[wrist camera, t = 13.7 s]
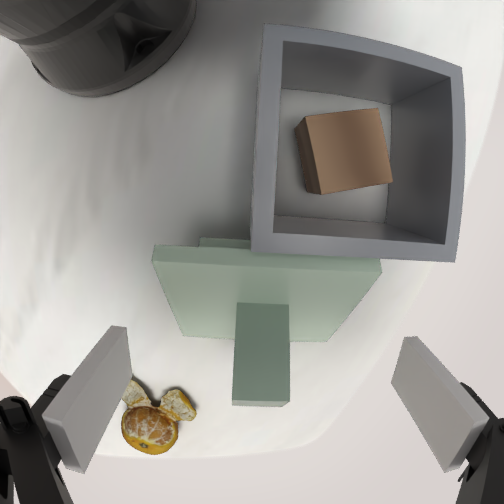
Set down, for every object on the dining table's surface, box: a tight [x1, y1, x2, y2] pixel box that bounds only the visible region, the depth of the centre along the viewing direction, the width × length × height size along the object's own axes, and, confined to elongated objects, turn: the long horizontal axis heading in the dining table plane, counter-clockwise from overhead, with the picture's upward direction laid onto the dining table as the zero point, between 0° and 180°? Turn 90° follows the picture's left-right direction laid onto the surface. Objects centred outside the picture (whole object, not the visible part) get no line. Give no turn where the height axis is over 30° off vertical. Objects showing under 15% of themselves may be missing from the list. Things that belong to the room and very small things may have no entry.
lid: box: [152, 237, 382, 407], centre depth 20 cm, size 12×12×9 cm
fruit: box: [121, 380, 197, 455], centre depth 27 cm, size 8×8×4 cm
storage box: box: [250, 24, 466, 262], centre depth 19 cm, size 12×12×9 cm
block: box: [294, 108, 393, 195], centre depth 21 cm, size 5×5×5 cm
